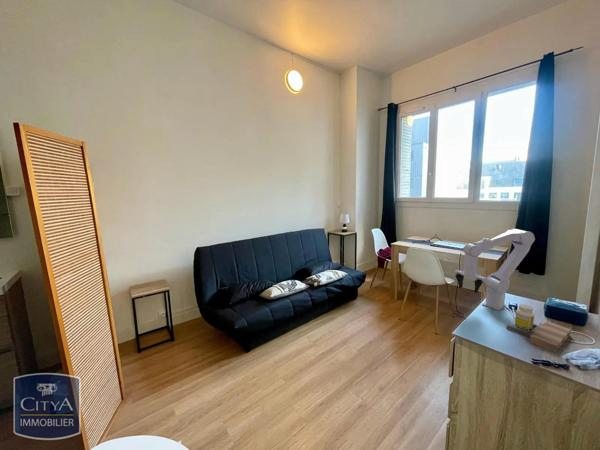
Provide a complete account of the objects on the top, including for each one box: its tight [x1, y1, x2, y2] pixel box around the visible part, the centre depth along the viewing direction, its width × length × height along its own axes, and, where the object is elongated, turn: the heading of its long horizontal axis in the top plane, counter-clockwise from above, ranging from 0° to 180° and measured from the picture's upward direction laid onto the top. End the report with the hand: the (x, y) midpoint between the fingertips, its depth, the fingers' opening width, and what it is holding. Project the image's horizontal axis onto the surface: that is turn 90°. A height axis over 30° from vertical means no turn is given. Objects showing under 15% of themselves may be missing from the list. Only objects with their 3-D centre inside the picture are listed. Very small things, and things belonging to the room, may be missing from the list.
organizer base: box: [505, 321, 572, 353], centre depth 110 cm, size 20×18×3 cm
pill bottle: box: [514, 303, 535, 333], centre depth 114 cm, size 6×6×11 cm
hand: (468, 289), depth 135 cm, fingers open, 7 cm apart
